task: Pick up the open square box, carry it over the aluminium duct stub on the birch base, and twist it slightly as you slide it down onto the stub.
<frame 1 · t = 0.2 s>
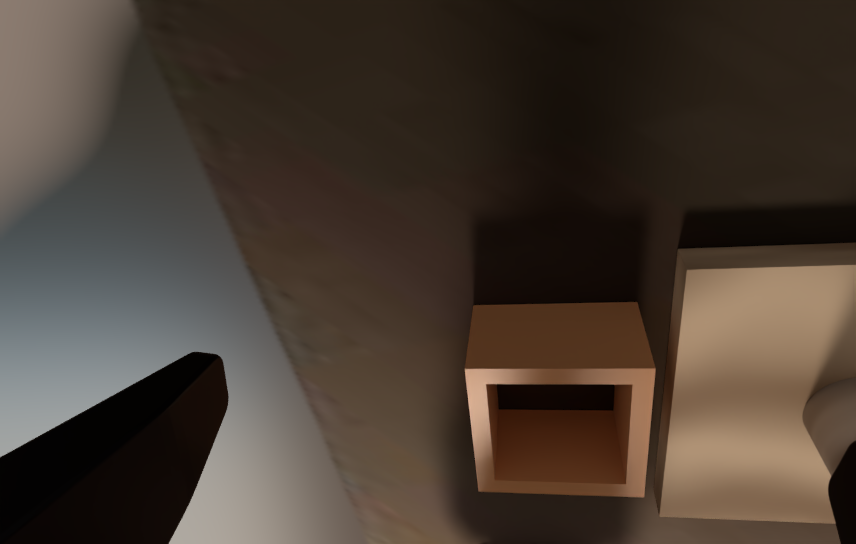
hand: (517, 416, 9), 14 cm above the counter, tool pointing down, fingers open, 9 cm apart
duct base: (835, 385, 24), on the counter
open square box: (554, 366, 26), on the counter
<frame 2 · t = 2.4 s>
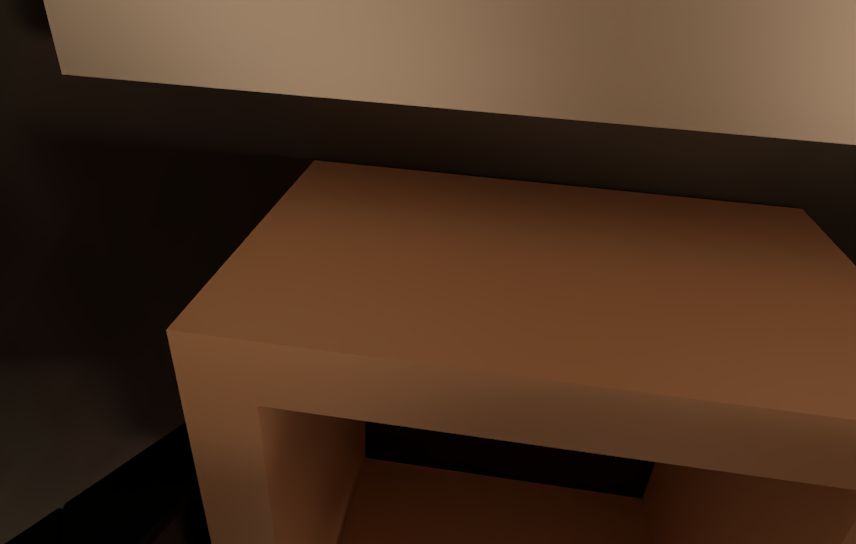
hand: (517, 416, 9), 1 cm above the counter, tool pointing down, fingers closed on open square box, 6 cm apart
open square box: (518, 370, 10), on the counter, touching gripper
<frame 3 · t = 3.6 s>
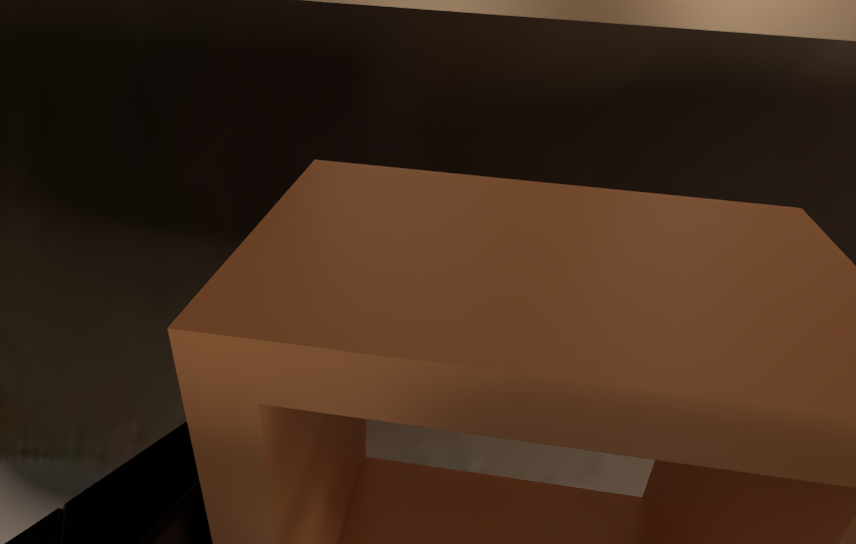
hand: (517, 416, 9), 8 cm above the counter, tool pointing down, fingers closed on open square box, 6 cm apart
open square box: (518, 369, 10), point 7 cm above the counter, touching gripper
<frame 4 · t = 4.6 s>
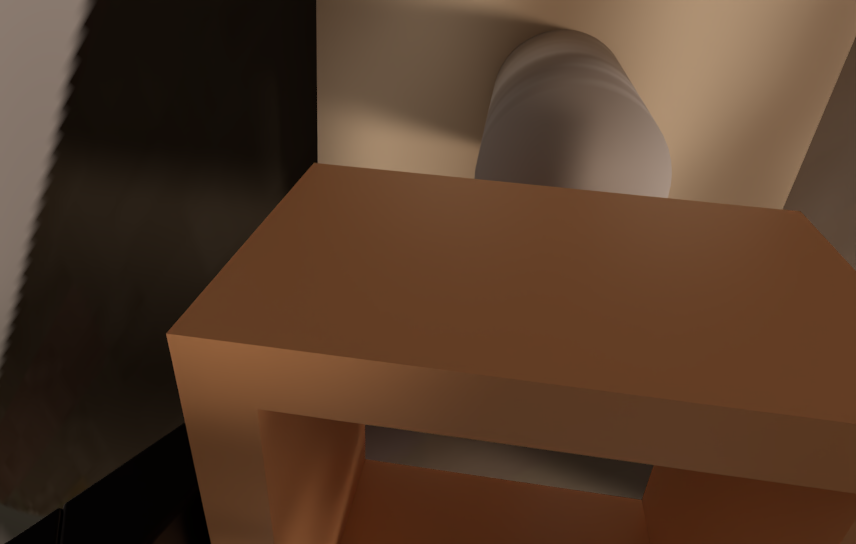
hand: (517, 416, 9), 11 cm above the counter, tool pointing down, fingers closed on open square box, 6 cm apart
duct base: (555, 85, 17), on the counter
open square box: (517, 372, 10), point 10 cm above the counter, touching gripper
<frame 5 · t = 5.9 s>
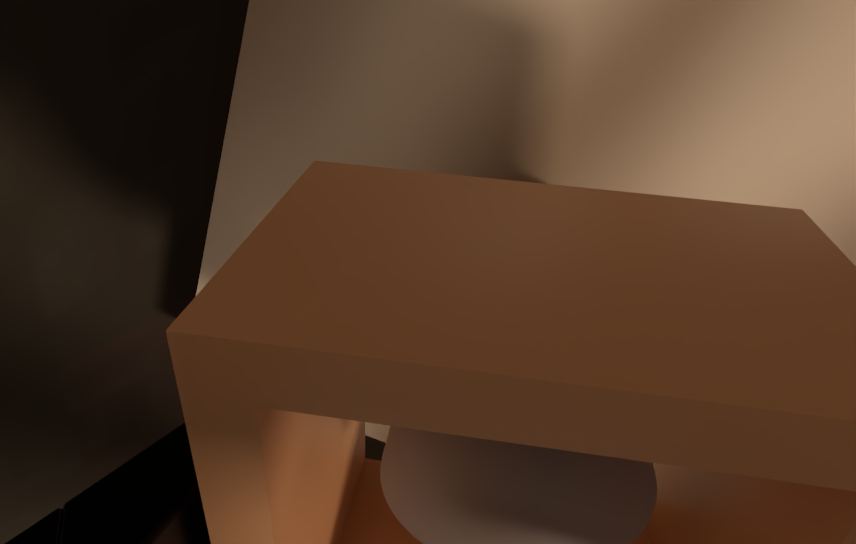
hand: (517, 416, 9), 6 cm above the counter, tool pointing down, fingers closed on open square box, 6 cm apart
duct base: (519, 227, 14), on the counter
open square box: (518, 371, 10), point 5 cm above the counter, touching gripper
when the fingers open (4 cm above the counter, at t = 7.0 s): open square box drops 1 cm, resting on duct base.
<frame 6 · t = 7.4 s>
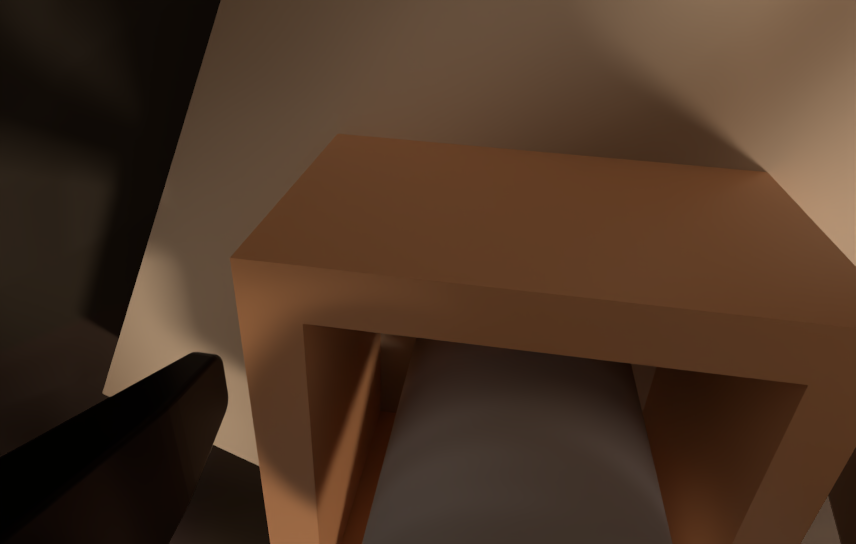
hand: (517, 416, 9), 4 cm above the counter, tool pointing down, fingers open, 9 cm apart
duct base: (519, 280, 12), on the counter
open square box: (519, 325, 11), point 1 cm above the counter, touching duct base
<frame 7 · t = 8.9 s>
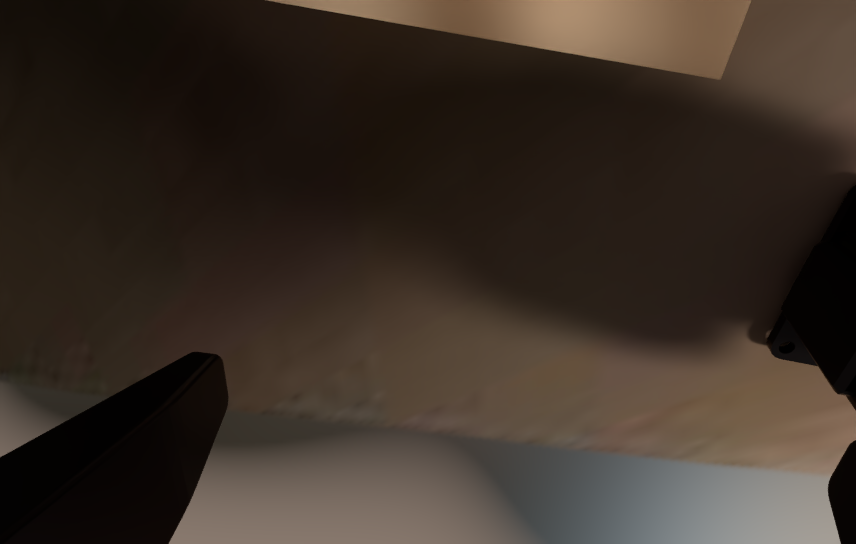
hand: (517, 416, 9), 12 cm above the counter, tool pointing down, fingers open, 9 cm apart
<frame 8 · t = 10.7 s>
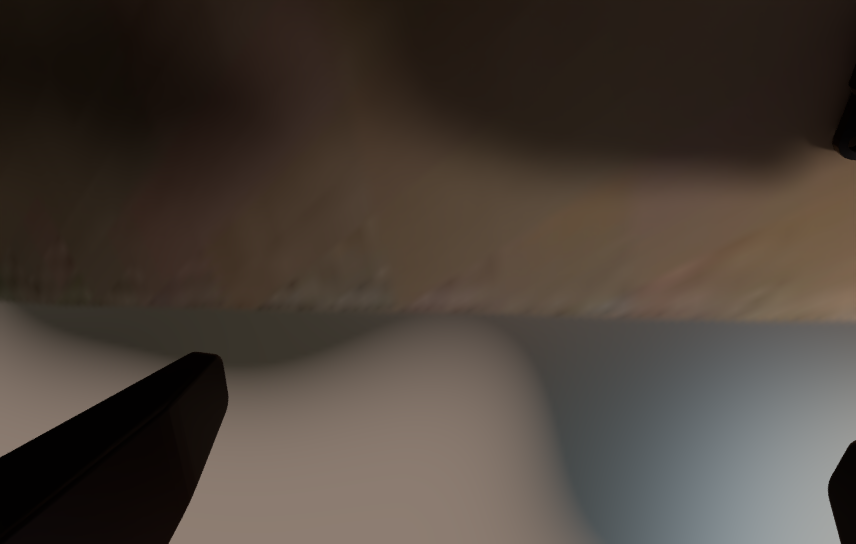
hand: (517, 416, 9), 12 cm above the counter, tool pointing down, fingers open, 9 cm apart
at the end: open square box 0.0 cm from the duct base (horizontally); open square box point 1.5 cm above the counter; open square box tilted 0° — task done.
